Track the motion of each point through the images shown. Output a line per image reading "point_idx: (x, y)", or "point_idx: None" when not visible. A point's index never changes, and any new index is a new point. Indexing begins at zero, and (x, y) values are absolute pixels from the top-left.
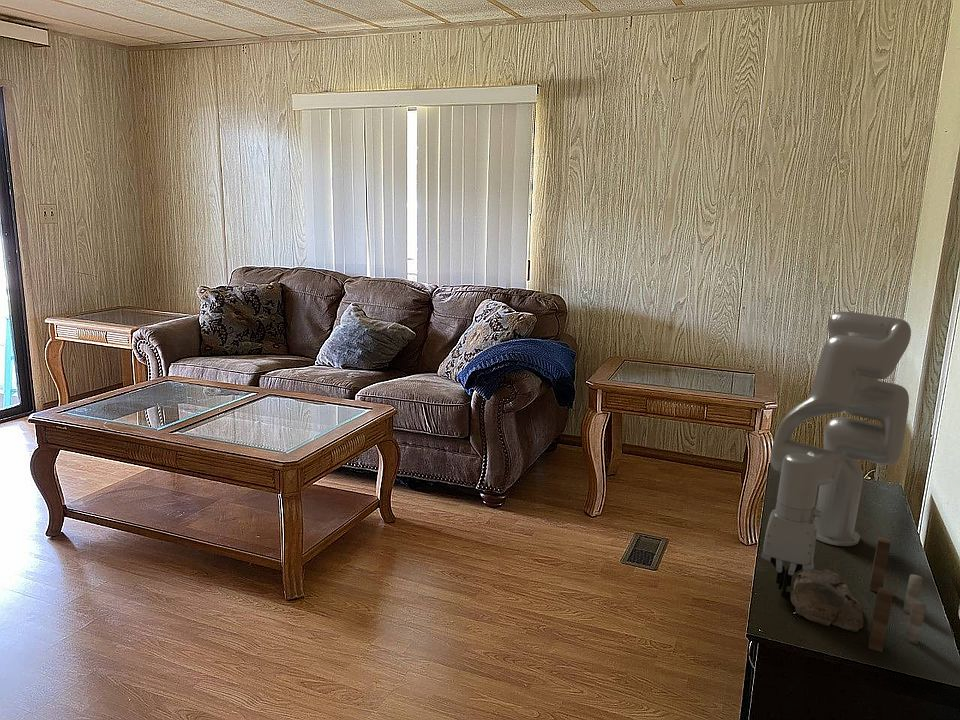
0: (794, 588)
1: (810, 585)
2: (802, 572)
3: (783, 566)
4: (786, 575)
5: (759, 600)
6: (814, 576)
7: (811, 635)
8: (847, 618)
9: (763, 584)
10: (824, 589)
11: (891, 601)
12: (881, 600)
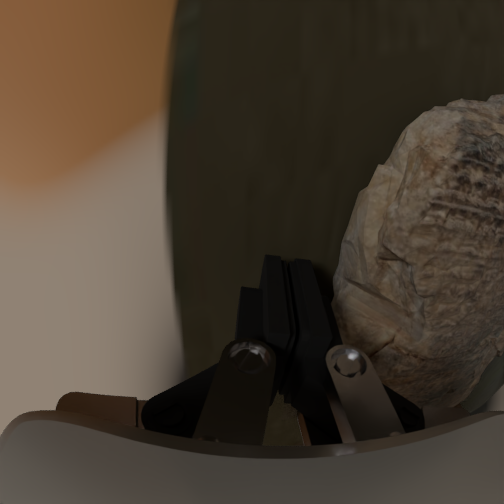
0: (344, 266)
1: (401, 386)
2: (432, 221)
3: (272, 387)
4: (288, 400)
5: (186, 363)
6: (473, 283)
7: None
8: None
9: (180, 240)
10: (442, 387)
11: None
12: None
